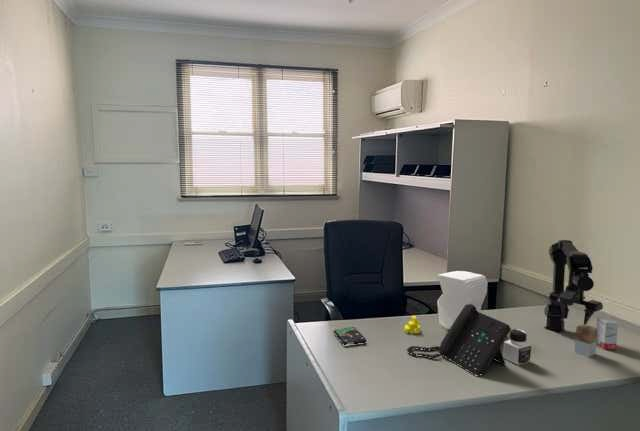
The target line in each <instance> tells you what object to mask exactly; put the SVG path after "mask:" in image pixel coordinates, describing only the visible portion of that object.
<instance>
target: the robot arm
mask: <svg viewBox="0 0 640 431" xmlns="http://www.w3.org/2000/svg"><path fill="white" fill-rule="evenodd" d="M548 254H549V258H550V261H551V262H552V264H553V271H552V273H553V274H552V275H553V276H552V292H550V293H549V296H548V302H547V304H546V306H545V308H544V311H543V312H544V315H545V317H546V325H545V326H544V329H546V330H549V331H551V332H555V333H560V332H563V331H565V330H566V328H565V319H568V315H569V312H570V309H569V306H570V307H571V306H574V304H576V305H580V306H584V308H585V309H584V318H583V324H584V325H588V322H589V321H590V319H591V317H592V316H593V314H594V313H596V312H598V311H601V310H603V309H604V307H603V306H604V305H603V303H602V301H598V300H594V299H591V300H585V299H586V296H584V295H585V292H588V291H590V290H592V289H593V288H594V285H595V283H594V280H593V279H592V278H591V277H590V276H589V274H592V273H593V264H592V261H591V259H590V257H589V255H588V254H587V253H585V252H582V251H579V250H578V249H577V248H576V246H575V245H574V244H573V241H572V240H567V239H560V240H558V241H557V242H555V243H552V244H551V246H550V247H549V249H548ZM566 266H567V268H568V280H567V282H568V283H567V285H566V287H565V277H566V276H565V273H566V270H565V269H566Z"/></svg>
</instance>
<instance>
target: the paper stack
mask: <svg viewBox="0 0 640 431" xmlns="http://www.w3.org/2000/svg"><path fill="white" fill-rule="evenodd" d="M435 276H436V277H437V279H438V282H439V284H440V288H441V291H442V292H441V293H442V294H441V296H439V298H438V299H437V300H436V301H437V313H438V314H437V315H438V322H439V325H440V324H441V325H442V326H443V327H445V328H448V329H450V328H451V326H452V325H453V323H454V321H455V320H456V318H457V317H458V315H459V314H460V312H461V311H462V309H463V308H464V307H465V305H468V304H471V305H474V306H475V307H476V310H477V311H478V312H479V313H482V312H481V311H482V305H483V303H484V300H485V298H486V296H487V293H488V283H489V282H488V281H487V278H486V276H485V275H484V274H480V273H475V272H472V271H465V270H455V271H449V272H443V273H439V274H436V275H435ZM441 325H440V326H441ZM442 326H441V327H442ZM443 327H442V328H443ZM445 328H444V329H445ZM448 329H447V330H448Z"/></svg>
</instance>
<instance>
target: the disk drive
mask: <svg viewBox="0 0 640 431" xmlns="http://www.w3.org/2000/svg"><path fill="white" fill-rule="evenodd" d="M334 333H335V334H336V335H337V337H338V338H339V339H340V340H341V341H342V343H343V344H344V345H346V344H358V343H365V342H366V343H367V338H365V335H363V334H362V333H361V332H360V331H359V330H358V329H357V328H356V327H355V326H351V327H343V328H338V329H337V328H335V329H334V330H333V334H334ZM337 337H336V338H337Z"/></svg>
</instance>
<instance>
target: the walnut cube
mask: <svg viewBox="0 0 640 431" xmlns="http://www.w3.org/2000/svg"><path fill="white" fill-rule="evenodd" d="M597 329H598V328H597V327H594V326H591V325H588V324H586V325H584V323H583V324H580V325H577V326H576V330H575V339H576V340H578V341H581V342H584V343H587V344H591V343H594V342H596V341H597ZM596 343H597V342H596Z"/></svg>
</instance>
